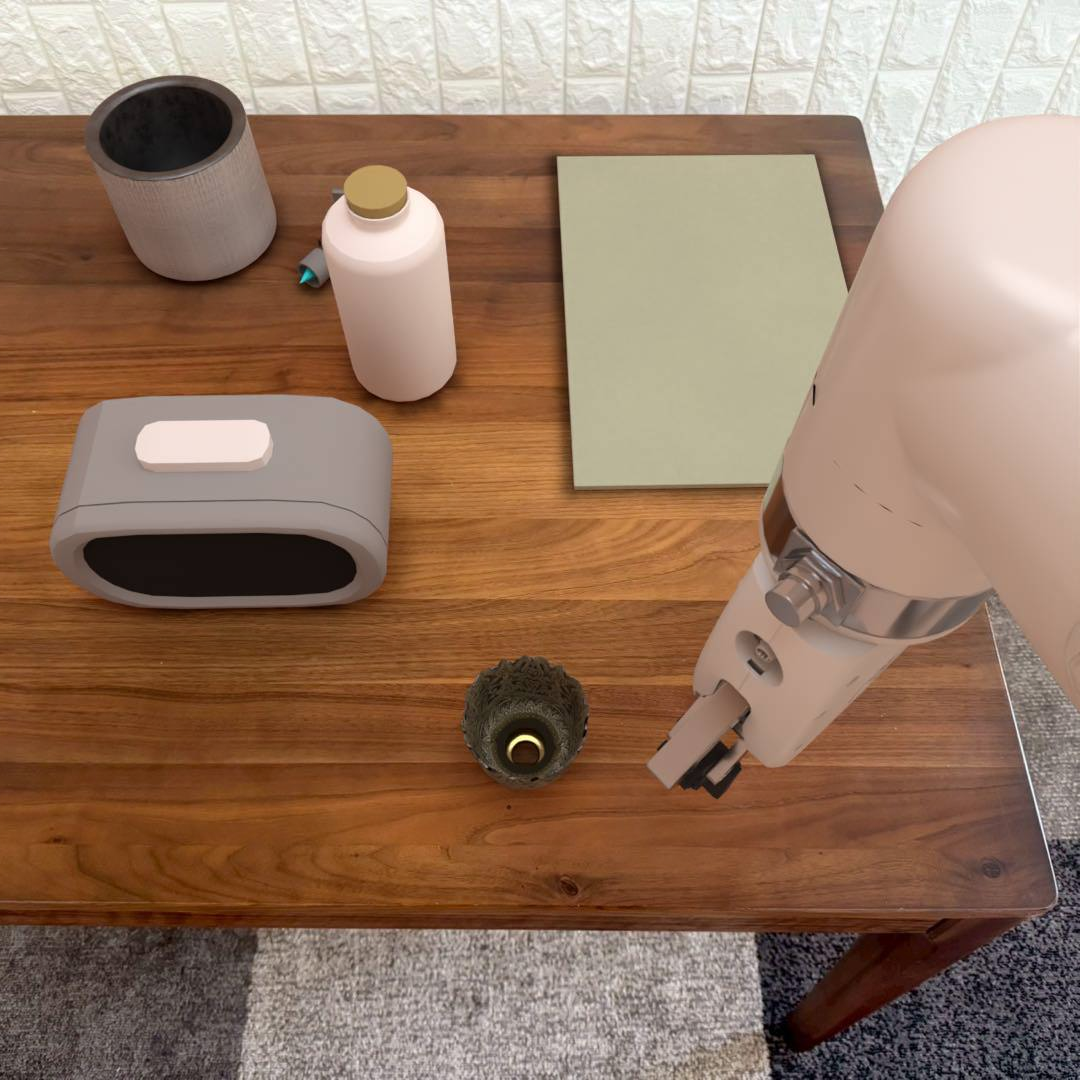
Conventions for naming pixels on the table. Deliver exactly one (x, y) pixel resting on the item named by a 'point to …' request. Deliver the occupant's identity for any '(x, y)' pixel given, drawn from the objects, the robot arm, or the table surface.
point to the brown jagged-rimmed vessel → (525, 720)
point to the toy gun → (316, 260)
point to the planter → (183, 176)
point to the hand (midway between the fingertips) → (767, 701)
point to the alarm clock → (226, 502)
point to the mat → (692, 313)
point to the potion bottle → (391, 284)
